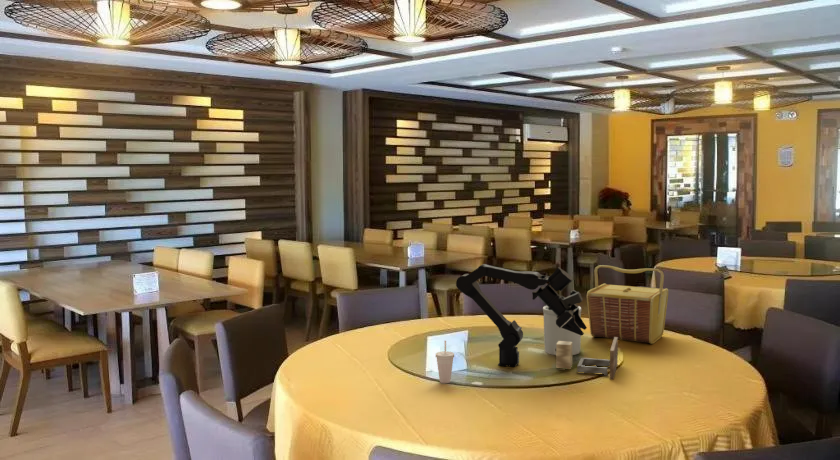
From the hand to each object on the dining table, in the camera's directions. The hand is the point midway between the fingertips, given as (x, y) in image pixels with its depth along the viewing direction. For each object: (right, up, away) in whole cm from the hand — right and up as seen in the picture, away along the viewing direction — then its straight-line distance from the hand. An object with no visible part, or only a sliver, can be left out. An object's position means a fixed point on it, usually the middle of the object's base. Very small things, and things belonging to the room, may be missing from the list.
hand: (584, 331), depth 253 cm
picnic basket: (+29, -9, +49) cm, 58 cm away
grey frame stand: (+4, -14, +2) cm, 15 cm away
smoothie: (-50, -16, -10) cm, 53 cm away
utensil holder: (-3, -12, +28) cm, 30 cm away
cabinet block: (-6, -14, +6) cm, 16 cm away
